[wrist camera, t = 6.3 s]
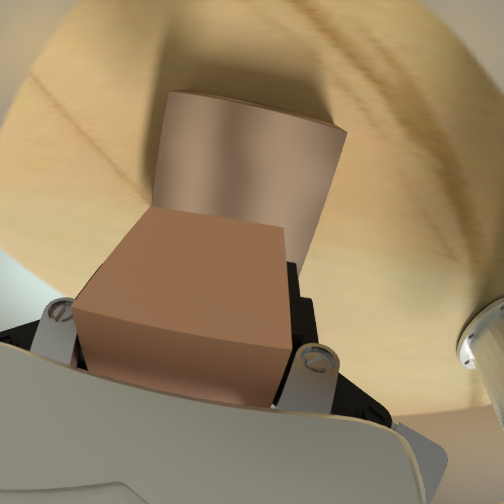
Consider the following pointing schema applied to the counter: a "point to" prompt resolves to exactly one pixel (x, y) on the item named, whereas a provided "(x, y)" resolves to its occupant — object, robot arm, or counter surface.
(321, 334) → the counter surface
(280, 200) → the taupe streaked block
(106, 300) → the terracotta block
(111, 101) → the counter surface
